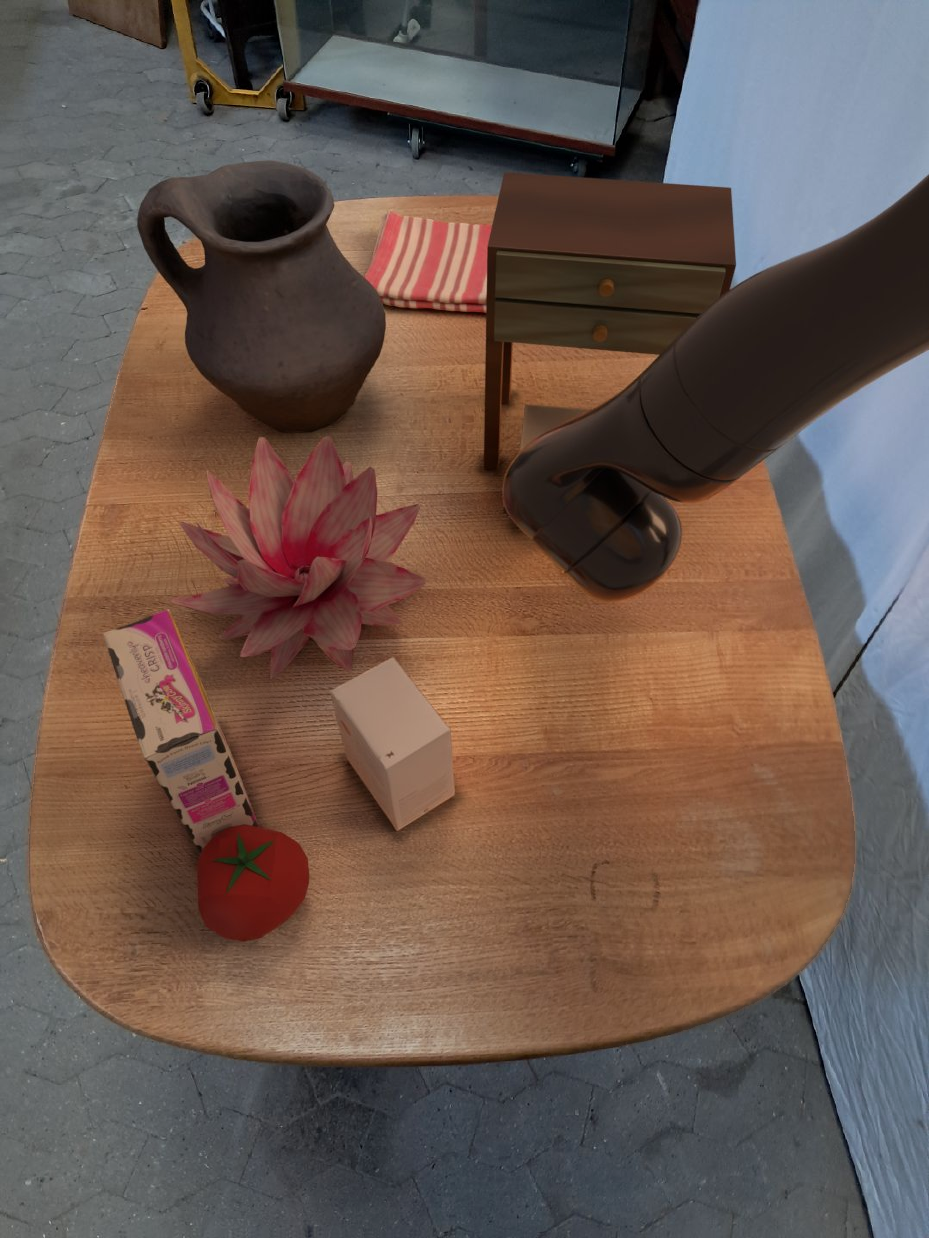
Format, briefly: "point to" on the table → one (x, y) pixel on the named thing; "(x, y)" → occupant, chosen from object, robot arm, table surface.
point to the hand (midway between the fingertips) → (573, 505)
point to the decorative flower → (304, 557)
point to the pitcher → (268, 291)
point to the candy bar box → (178, 727)
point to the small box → (395, 742)
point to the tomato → (250, 881)
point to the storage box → (544, 420)
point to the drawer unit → (598, 270)
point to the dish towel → (430, 264)
